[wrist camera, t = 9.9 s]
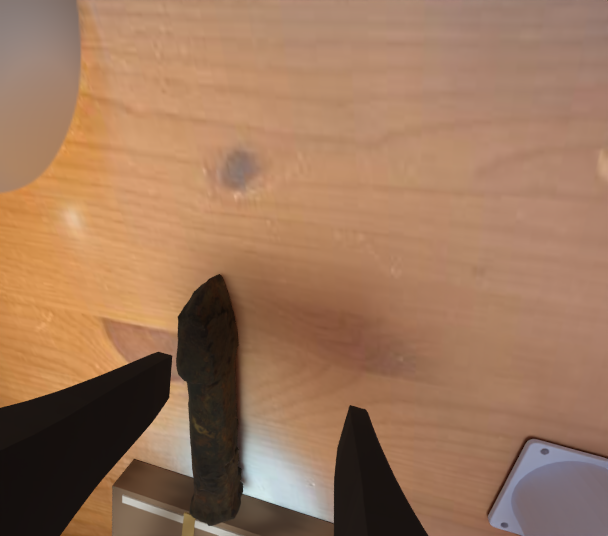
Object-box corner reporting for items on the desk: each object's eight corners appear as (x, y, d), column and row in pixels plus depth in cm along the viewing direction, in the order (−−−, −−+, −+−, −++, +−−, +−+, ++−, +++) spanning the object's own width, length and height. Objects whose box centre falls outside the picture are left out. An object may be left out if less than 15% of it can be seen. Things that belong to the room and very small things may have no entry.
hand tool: (249, 484, 26) (227, 545, 21) (206, 474, 26) (176, 532, 22) (260, 277, 21) (234, 301, 16) (206, 270, 21) (167, 291, 17)
